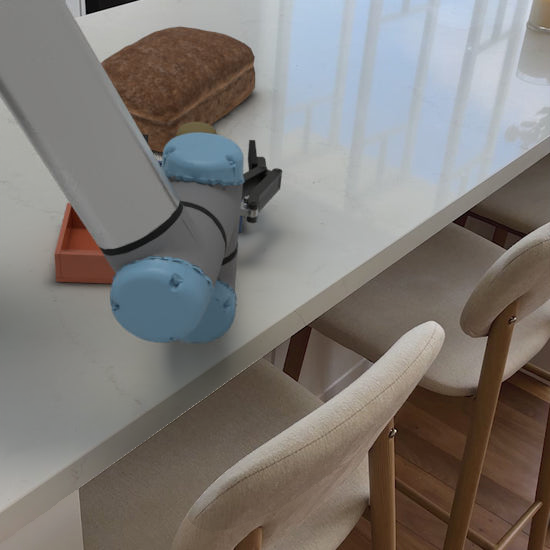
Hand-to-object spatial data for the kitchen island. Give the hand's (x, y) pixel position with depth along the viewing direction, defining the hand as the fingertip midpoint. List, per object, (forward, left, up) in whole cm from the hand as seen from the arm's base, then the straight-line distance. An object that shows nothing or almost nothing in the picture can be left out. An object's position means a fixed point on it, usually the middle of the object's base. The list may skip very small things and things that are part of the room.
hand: (198, 146), depth 114 cm
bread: (-4, +27, -7) cm, 28 cm away
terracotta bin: (-10, -15, -7) cm, 20 cm away
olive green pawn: (0, -3, -7) cm, 8 cm away
